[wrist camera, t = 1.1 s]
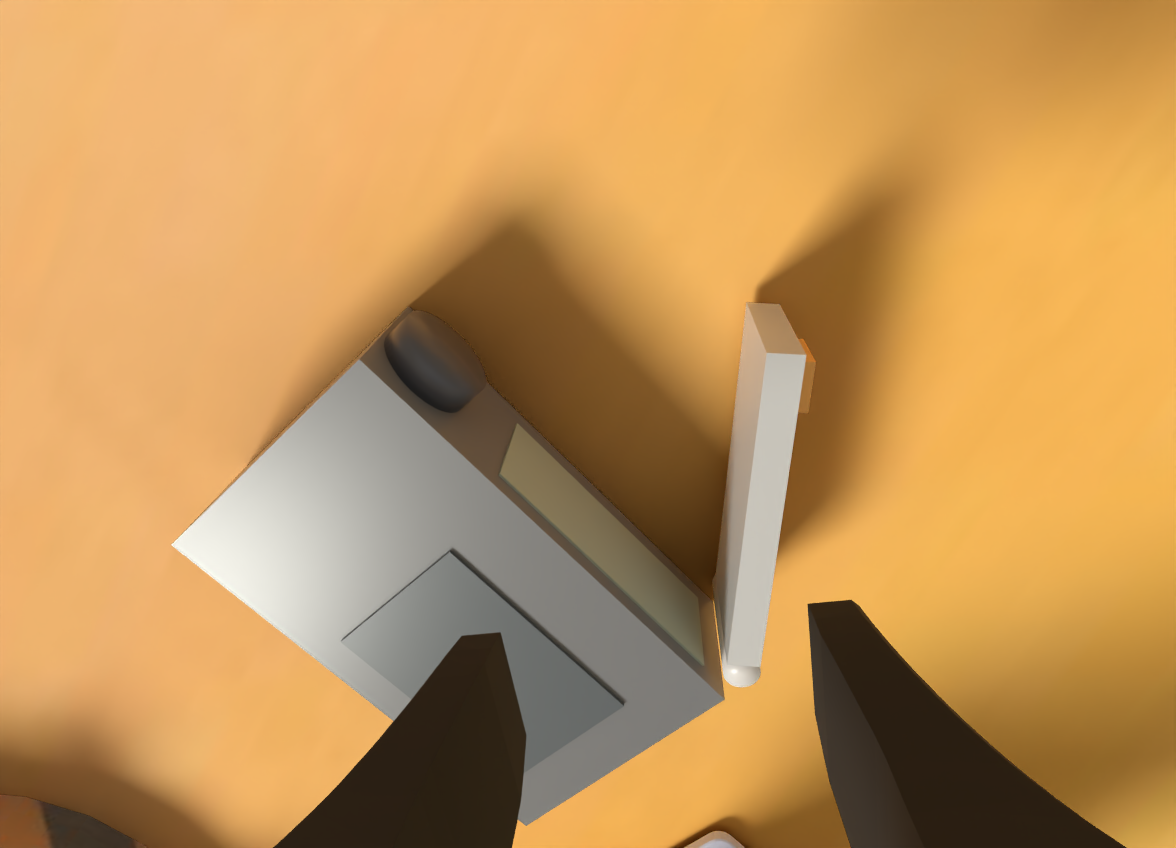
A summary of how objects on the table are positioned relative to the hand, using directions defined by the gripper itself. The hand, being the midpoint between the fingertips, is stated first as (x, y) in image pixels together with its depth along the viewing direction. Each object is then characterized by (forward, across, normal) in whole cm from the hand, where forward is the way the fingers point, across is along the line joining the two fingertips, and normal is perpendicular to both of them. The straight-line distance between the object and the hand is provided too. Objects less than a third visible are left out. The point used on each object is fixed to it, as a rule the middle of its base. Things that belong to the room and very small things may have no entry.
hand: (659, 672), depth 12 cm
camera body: (+10, +5, +4) cm, 12 cm away
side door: (+10, -2, +2) cm, 11 cm away
